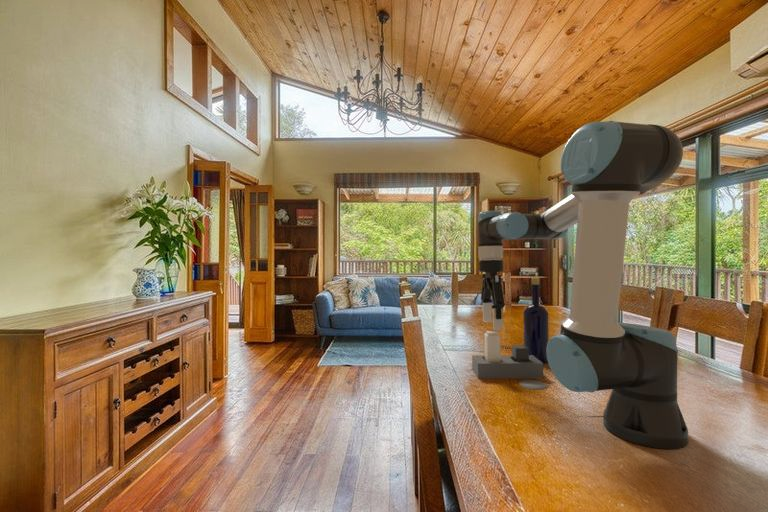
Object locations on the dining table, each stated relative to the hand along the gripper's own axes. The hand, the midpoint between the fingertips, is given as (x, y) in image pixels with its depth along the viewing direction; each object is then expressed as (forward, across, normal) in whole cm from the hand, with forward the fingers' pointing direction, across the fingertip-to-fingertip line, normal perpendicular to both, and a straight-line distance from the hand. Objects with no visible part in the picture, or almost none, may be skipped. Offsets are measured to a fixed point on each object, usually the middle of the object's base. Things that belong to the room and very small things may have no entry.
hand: (492, 325), depth 118 cm
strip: (+16, +1, -4) cm, 16 cm away
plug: (+15, +1, 0) cm, 15 cm away
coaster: (+16, -9, -9) cm, 21 cm away
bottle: (+16, +16, -19) cm, 30 cm away
